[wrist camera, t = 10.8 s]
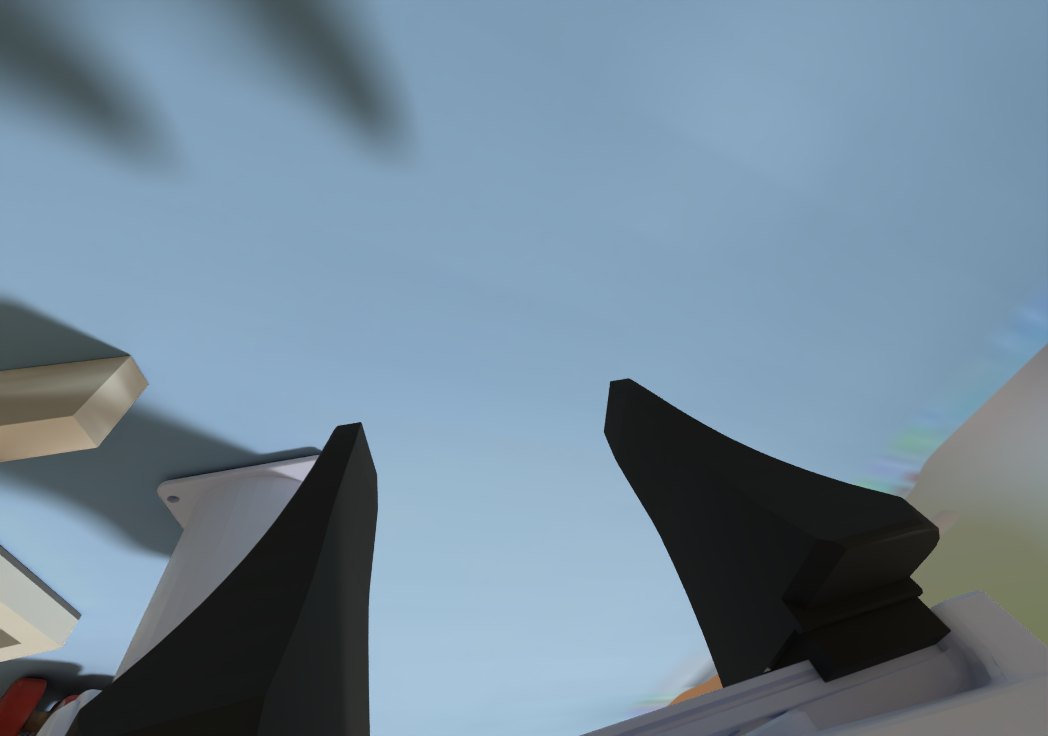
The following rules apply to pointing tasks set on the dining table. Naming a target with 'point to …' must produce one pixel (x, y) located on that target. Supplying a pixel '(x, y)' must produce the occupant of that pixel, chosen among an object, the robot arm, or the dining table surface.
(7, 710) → the toy fire truck
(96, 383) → the channel walls
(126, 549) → the dining table surface
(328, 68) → the dining table surface
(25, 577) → the trap basin
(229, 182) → the dining table surface
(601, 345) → the dining table surface
